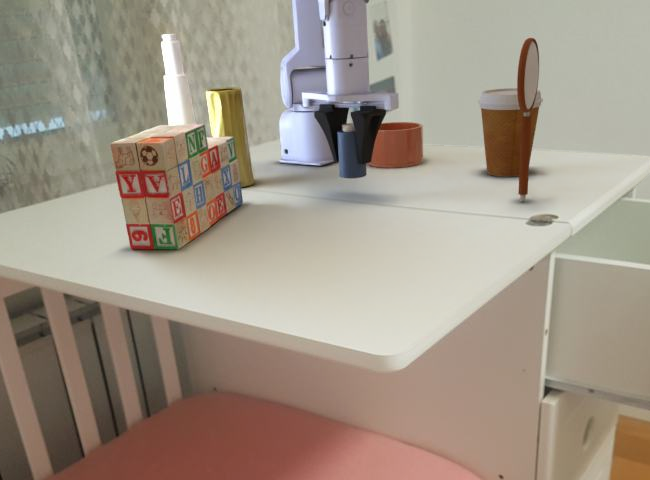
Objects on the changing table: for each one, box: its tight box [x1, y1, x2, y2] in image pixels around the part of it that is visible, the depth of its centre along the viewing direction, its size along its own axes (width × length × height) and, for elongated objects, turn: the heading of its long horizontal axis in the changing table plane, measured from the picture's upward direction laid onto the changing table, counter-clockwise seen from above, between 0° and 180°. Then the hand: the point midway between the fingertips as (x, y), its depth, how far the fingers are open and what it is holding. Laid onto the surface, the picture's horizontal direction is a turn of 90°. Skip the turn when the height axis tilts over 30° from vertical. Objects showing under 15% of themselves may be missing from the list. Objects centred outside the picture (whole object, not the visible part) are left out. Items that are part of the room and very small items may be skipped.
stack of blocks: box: [110, 123, 244, 250], centre depth 90 cm, size 21×6×12 cm, turn 168°
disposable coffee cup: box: [477, 87, 544, 178], centre depth 109 cm, size 10×10×12 cm
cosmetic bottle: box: [160, 33, 197, 125], centre depth 114 cm, size 6×6×22 cm
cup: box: [367, 121, 424, 169], centre depth 122 cm, size 9×9×6 cm
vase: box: [205, 86, 256, 189], centre depth 110 cm, size 6×6×14 cm
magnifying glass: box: [516, 37, 540, 202], centre depth 90 cm, size 9×2×20 cm, turn 155°
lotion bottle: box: [337, 122, 367, 179], centre depth 99 cm, size 4×4×7 cm
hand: (352, 161), depth 100 cm, fingers closed on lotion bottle, 4 cm apart
